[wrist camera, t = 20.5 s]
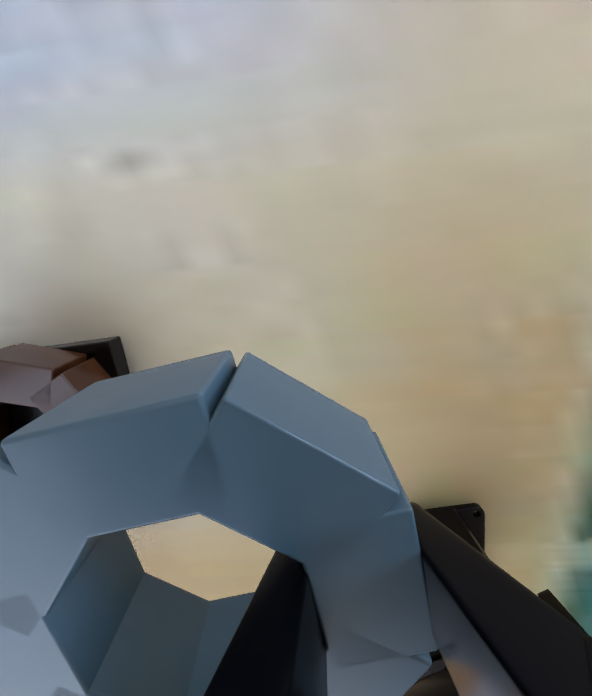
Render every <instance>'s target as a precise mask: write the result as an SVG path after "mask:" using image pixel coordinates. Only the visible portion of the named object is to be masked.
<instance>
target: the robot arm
mask: <svg viewBox="0 0 592 696" xmlns="http://www.w3.org/2000/svg"><path fill="white" fill-rule="evenodd" d="M410 504H411V506H412V508H413V513H414V518H415V524H416V529H417V534H418V540H419V545H420V554H421V560H422V567H423V574H424V581H425V588H426V595H427V601H428V608H429V615H430V622H431V629H432V635H433V637H434V639H435V642H436V644H437V646H438V649H437V650H436V651H432V652H429V654H430V657H431V660H432V665H431V667H430V668H429V669H428V670H427V671H426V672H425V673H424V674H423V675H422V676H421V677H420V678H419V679H418V681H417V682H416V683H415V684H414V685H413V686H412V687H411V688H410V689H409V690H408V691H407V692H406V693H405V694H404V695H403V696H592V637H591V636H589V635H588V634H587V633H586V632H585V630H584V629H583V628H582V627H581V626H580V625H579V624H578V622H577V621H576V620H575V619H574V618H573V617H572V616H571V614H570V613H569V612H568V611H567V610H566V609H565V608H564V607H563V605H562V604H561V603H560V602H559V601H558V600H557V599H556V597H555V596H554V595H553V594H552V593H551V592H550V591H549V590H548V589H547V590H545V591H542V592H540V593H538V594H537V595H538V596H537V595H535V594H534V593H533V592H531V591H530V590H529V589H527V588H526V587H525V586H523V585H522V584H521V583H520V582H518V581H517V580H516V579H514V578H513V577H512V576H510V575H509V574H508V573H506V572H505V571H504V570H503V569H501V568H500V567H499V566H497V565H496V564H495V563H493V562H492V561H491V560H490V559H489V558H488V556H487V555H486V553H485V552H484V550H485V513H484V510H483V509H482V508H481V507H480V505H479V504H476V503H471V504H463V505H455V506H447V507H439V508H432V509H423V508H421V507H420V506H419V505H417V504H416V503H413V502H411V503H410ZM475 511H476V512H475ZM474 512H475V513H474ZM204 696H328V689H327V656H326V643H325V638H324V635H323V631H322V628H321V624H320V620H319V617H318V613H317V610H316V606H315V602H314V598H313V594H312V590H311V586H310V582H309V578H308V575H307V573H306V572H305V570H304V568H303V564H302V563H300V562H298V561H296V560H294V559H292V558H290V557H288V556H286V555H284V554H282V553H280V552H278V551H275V553H274V555H273V557H272V559H271V561H270V563H269V565H268V567H267V569H266V571H265V573H264V575H263V577H262V579H261V581H260V583H259V585H258V587H257V589H256V591H255V593H254V595H253V597H252V599H251V601H250V604H249V606H248V608H247V610H246V612H245V614H244V616H243V618H242V620H241V622H240V624H239V626H238V628H237V630H236V632H235V634H234V636H233V638H232V640H231V642H230V644H229V646H228V648H227V650H226V652H225V654H224V656H223V658H222V660H221V662H220V664H219V666H218V668H217V670H216V672H215V674H214V676H213V678H212V680H211V682H210V684H209V686H208V688H207V690H206V692H205V694H204Z"/></svg>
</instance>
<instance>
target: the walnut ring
mask: <svg viewBox="0 0 592 696" xmlns="http://www.w3.org/2000/svg"><path fill="white" fill-rule="evenodd" d="M110 378H111V377H110V376H109V374H108V373H107V372H106V371H105V370H104V369H103V368H102V366H101V365H100V364H99V363H98V362H97V361H96V360H95V359H94V358H91V359H89V360H87V354H85V353H79V352H73V351H67V350H61V349H55V348H49V347H43V346H37V345H31V344H25V343H21V344H18V345H12V346H9V347H6V348H2V349H0V443H1V441H2V440H3V439H5V438H6V437H8V436H9V435H10V434H9V404H15V405H22V406H28V407H35V408H38V409H39V410H40V411H41V412H42V413H43V414H45V413H46V412H48V411H49V410H51V409H53V408H54V407H56V406H58V405H59V404H61V403H62V402H64V401H66V400H67V399H69V398H70V397H72V396H74V395H75V394H77V393H78V392H80V391H82V390H83V389H85V388H87V387H88V386H90V385H91V384H93V383H95V382H98V381H102V380H106V379H110Z"/></svg>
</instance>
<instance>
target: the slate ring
mask: <svg viewBox="0 0 592 696" xmlns="http://www.w3.org/2000/svg"><path fill="white" fill-rule="evenodd" d="M196 514H201V515H203V516H205V517H207V518H209V519H212V520H214V521H216V522H218V523H220V524H222V525H224V526H226V527H228V528H230V529H232V530H234V531H236V532H238V533H240V534H243V535H245V536H247V537H249V538H251V539H253V540H255V541H257V542H259V543H261V544H263V545H265V546H267V547H269V548H271V549H274V550H276V551H278V552H280V553H282V554H284V555H286V556H288V557H290V558H292V559H294V560H296V561H298V562H300V563H302V564H303V568H304V570H305V572H306V573H307V575H308V578H309V582H310V586H311V590H312V594H313V598H314V602H315V606H316V610H317V613H318V617H319V620H320V624H321V628H322V631H323V635H324V638H325V643H326V656H327V689H328V696H403V695H404V694H405V693H406V692H407V691H408V690H409V689H410V688H411V687H412V686H413V685H414V684H415V683H416V682H417V681H418V679H419V678H420V677H421V676H422V675H423V674H424V673H425V672H426V671H427V670H428V669H429V668H430V667H431V665H432V660H431V657H430V654H429V652H432V651H436V650H437V649H438V646H437V644H436V642H435V639H434V637H433V635H432V629H431V622H430V615H429V608H428V601H427V595H426V588H425V581H424V574H423V567H422V560H421V554H420V545H419V540H418V534H417V529H416V524H415V518H414V513H413V508H412V506H411V504H410V502H409V500H408V498H407V496H406V494H405V492H404V490H403V488H402V486H401V484H400V482H399V479H398V477H397V475H396V473H395V471H394V469H393V467H392V465H391V463H390V461H389V459H388V457H387V455H386V453H385V450H384V448H383V446H382V444H381V442H380V440H379V438H378V436H377V434H376V433H375V432H372V431H371V429H370V426H369V424H368V422H367V420H366V419H364V418H363V417H361V416H359V415H357V414H356V413H354V412H352V411H350V410H349V409H347V408H345V407H343V406H342V405H340V404H338V403H336V402H335V401H333V400H331V399H329V398H328V397H326V396H324V395H322V394H321V393H319V392H317V391H315V390H314V389H312V388H310V387H308V386H306V385H305V384H303V383H301V382H299V381H298V380H296V379H294V378H292V377H291V376H289V375H287V374H285V373H284V372H282V371H280V370H278V369H277V368H275V367H273V366H271V365H270V364H268V363H266V362H264V361H263V360H261V359H259V358H257V357H256V356H254V355H252V354H250V353H245V355H244V356H243V358H242V360H241V361H240V363H239V365H238V367H237V368H236V364H235V361H234V358H233V354H232V352H231V351H228V350H226V351H222V352H218V353H214V354H210V355H205V356H201V357H197V358H193V359H189V360H185V361H181V362H176V363H172V364H168V365H164V366H160V367H156V368H152V369H147V370H143V371H139V372H135V373H131V374H127V375H123V376H118V377H114V378H110V379H106V380H102V381H98V382H95V383H93V384H91V385H90V386H88V387H87V388H85V389H83V390H82V391H80V392H78V393H77V394H75V395H74V396H72V397H70V398H69V399H67V400H66V401H64V402H62V403H61V404H59V405H58V406H56V407H54V408H53V409H51V410H49V411H48V412H46V413H45V414H43V415H41V416H40V417H38V418H37V419H35V420H33V421H32V422H30V423H29V424H27V425H25V426H24V427H22V428H20V429H19V430H17V431H16V432H14V433H12V434H11V435H9V436H8V437H6V438H5V439H3V440H2V441H1V444H0V696H204V694H205V692H206V690H207V688H208V686H209V684H210V682H211V680H212V678H213V676H214V674H215V672H216V670H217V668H218V666H219V664H220V662H221V660H222V658H223V656H224V654H225V652H226V650H227V648H228V646H229V644H230V642H231V640H232V638H233V636H234V634H235V632H236V630H237V628H238V626H239V624H240V622H241V620H242V618H243V616H244V614H245V612H246V610H247V608H248V606H249V604H250V601H251V599H252V597H253V595H254V593H255V592H252V593H247V594H242V595H237V596H232V597H227V598H222V599H218V600H213V601H208V600H205V599H203V598H201V597H199V596H196V595H194V594H192V593H190V592H187V591H185V590H183V589H181V588H178V587H176V586H174V585H172V584H169V583H167V582H165V581H163V580H161V579H158V578H156V577H154V576H152V575H149V574H147V573H145V572H144V570H143V568H142V565H141V563H140V561H139V559H138V556H137V554H136V552H135V550H134V547H133V545H132V543H131V541H130V539H129V536H128V534H127V532H126V530H127V529H132V528H136V527H141V526H145V525H150V524H155V523H159V522H164V521H168V520H173V519H178V518H182V517H187V516H192V515H196Z"/></svg>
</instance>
